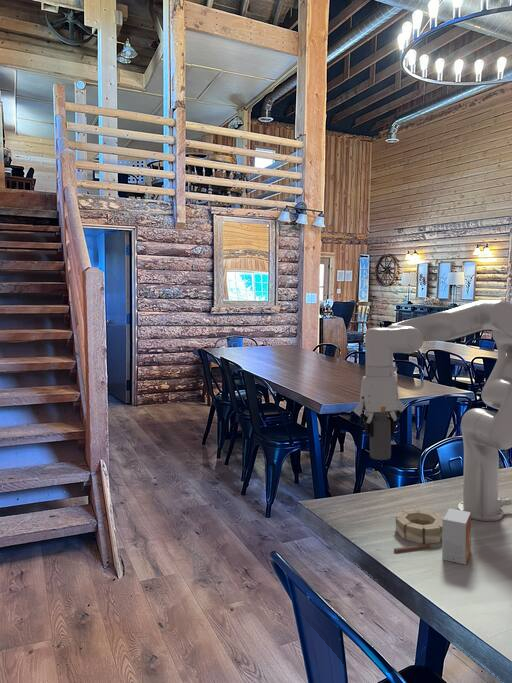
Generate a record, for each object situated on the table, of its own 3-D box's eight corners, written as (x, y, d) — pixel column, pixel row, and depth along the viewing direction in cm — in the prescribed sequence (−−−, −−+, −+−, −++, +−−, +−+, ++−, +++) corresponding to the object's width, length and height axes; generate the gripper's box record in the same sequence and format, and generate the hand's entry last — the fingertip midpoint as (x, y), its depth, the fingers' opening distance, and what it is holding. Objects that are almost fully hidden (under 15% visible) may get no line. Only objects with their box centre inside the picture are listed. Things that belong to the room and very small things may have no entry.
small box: (465, 565, 122) (466, 524, 121) (441, 559, 125) (442, 519, 124) (471, 551, 129) (471, 511, 128) (448, 546, 132) (448, 507, 131)
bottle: (391, 460, 140) (391, 407, 138) (370, 459, 141) (369, 407, 139) (390, 453, 145) (389, 402, 144) (369, 453, 146) (368, 402, 145)
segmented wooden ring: (428, 520, 147) (428, 507, 147) (453, 540, 135) (454, 525, 135) (389, 525, 145) (389, 511, 144) (411, 545, 132) (411, 531, 132)
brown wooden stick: (428, 546, 132) (428, 543, 132) (430, 547, 131) (430, 545, 131) (393, 551, 130) (393, 548, 130) (395, 552, 129) (395, 550, 129)
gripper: (400, 368, 146) (401, 428, 148) (345, 371, 143) (346, 434, 144) (414, 371, 139) (414, 435, 141) (356, 375, 135) (357, 441, 137)
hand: (380, 434), depth 142 cm, fingers closed on bottle, 5 cm apart
